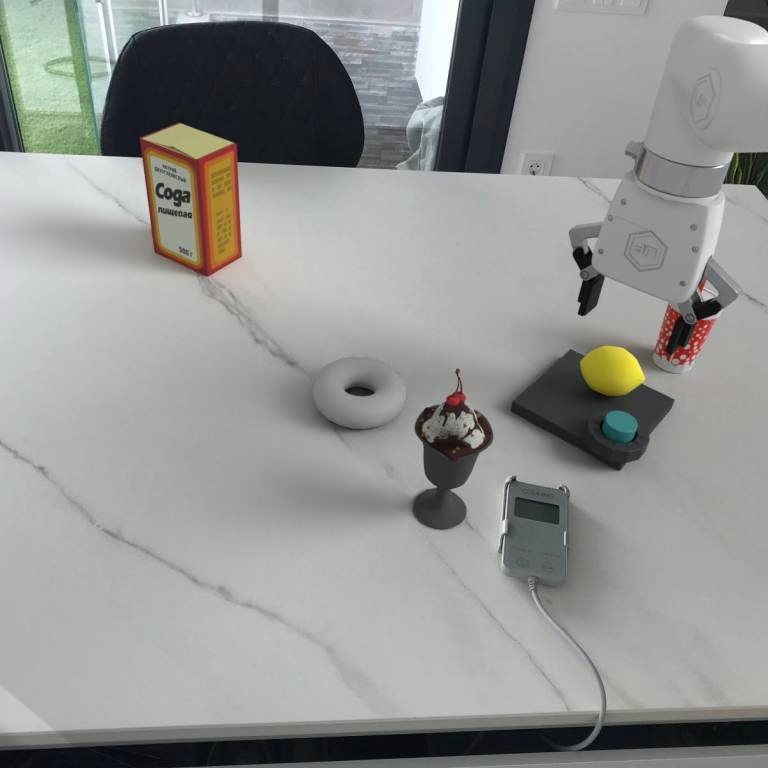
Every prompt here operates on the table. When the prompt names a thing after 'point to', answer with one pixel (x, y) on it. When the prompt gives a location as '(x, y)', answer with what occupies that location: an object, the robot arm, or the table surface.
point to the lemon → (611, 371)
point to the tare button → (619, 426)
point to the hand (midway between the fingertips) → (628, 329)
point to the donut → (359, 408)
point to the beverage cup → (686, 356)
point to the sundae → (449, 456)
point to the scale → (589, 411)
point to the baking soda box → (193, 197)
